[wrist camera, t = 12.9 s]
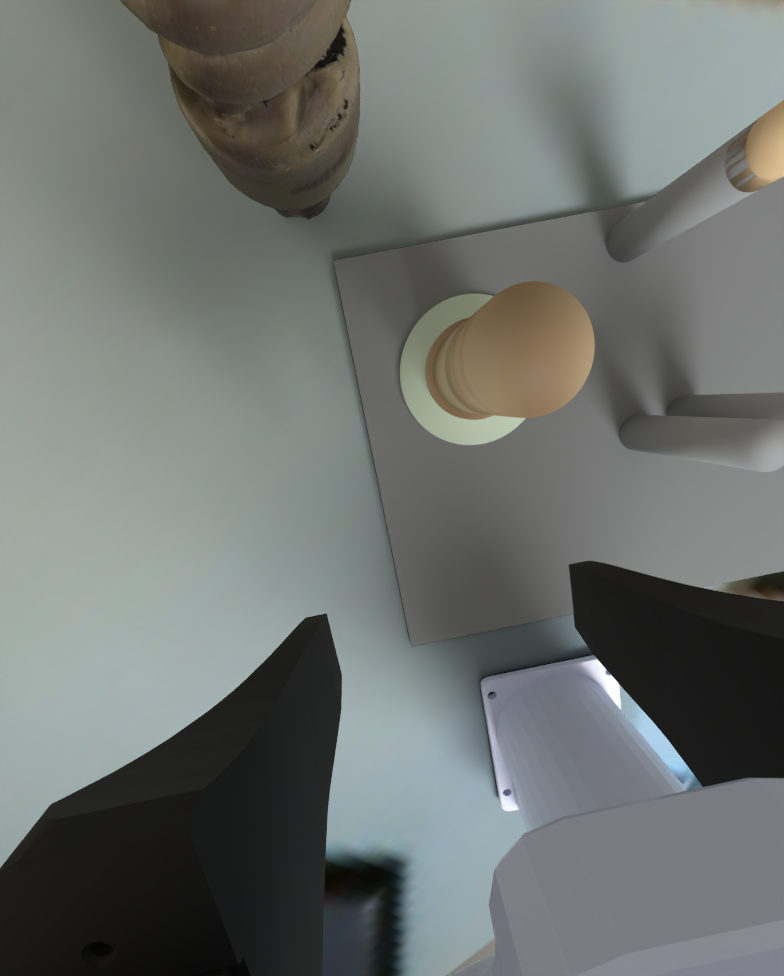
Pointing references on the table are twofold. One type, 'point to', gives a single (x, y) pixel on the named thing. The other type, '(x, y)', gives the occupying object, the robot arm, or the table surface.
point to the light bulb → (265, 91)
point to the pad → (416, 383)
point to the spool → (513, 355)
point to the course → (595, 401)
